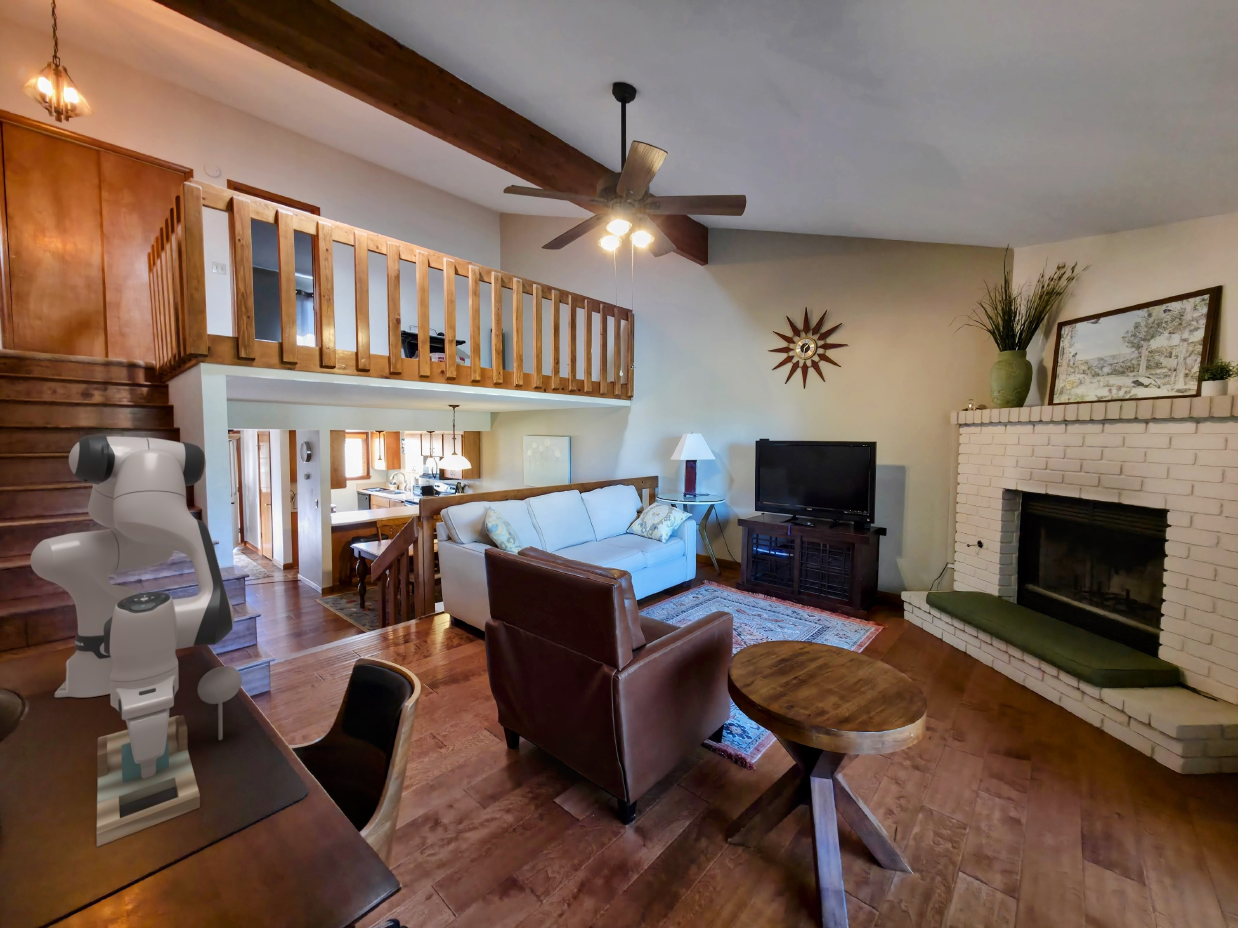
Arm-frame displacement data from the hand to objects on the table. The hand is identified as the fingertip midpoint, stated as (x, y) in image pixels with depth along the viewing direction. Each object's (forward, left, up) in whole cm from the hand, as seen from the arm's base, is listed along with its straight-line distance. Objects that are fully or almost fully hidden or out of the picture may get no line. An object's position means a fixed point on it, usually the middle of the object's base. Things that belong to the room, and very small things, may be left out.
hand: (146, 762), depth 90 cm
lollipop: (-8, +11, -4) cm, 14 cm away
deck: (-3, 0, -4) cm, 5 cm away
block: (-2, 0, -2) cm, 2 cm away
